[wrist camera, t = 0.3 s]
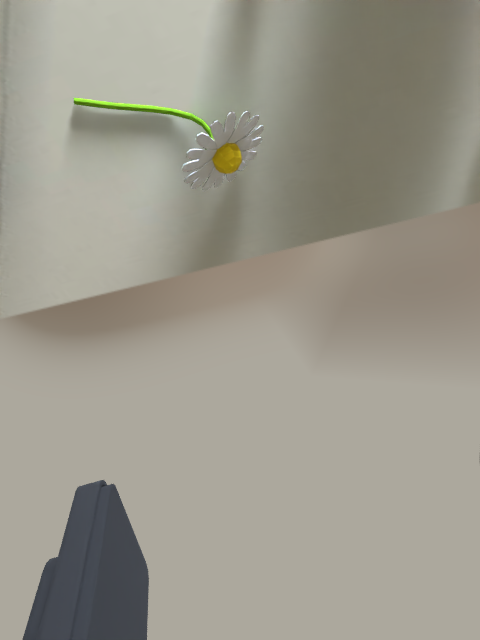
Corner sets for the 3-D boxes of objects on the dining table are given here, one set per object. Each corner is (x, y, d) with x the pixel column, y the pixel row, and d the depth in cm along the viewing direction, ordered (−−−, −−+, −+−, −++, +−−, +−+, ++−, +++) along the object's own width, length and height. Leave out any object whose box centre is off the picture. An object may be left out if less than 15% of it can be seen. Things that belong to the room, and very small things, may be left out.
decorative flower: (54, 114, 26) (279, 136, 29) (64, 49, 29) (270, 76, 32) (76, 196, 33) (256, 207, 36) (82, 138, 36) (250, 153, 39)
